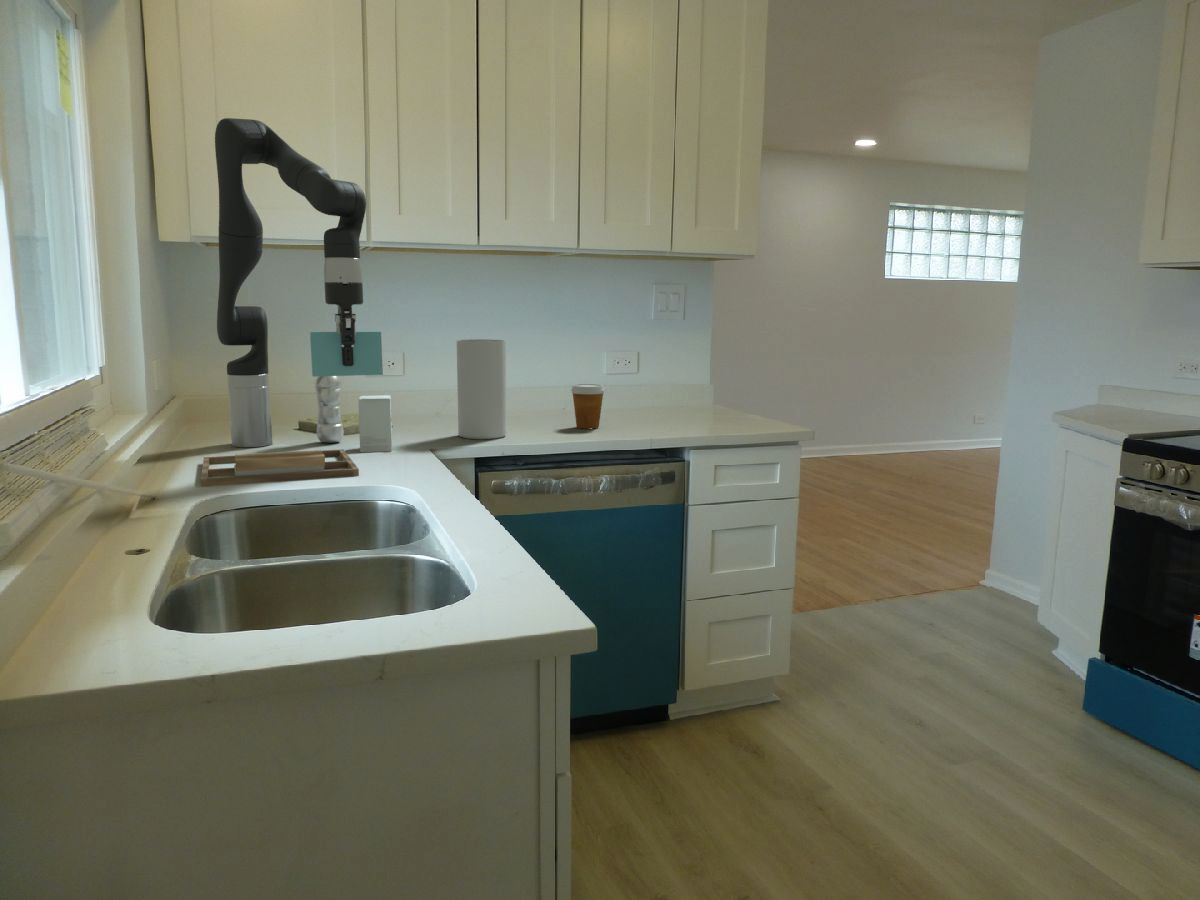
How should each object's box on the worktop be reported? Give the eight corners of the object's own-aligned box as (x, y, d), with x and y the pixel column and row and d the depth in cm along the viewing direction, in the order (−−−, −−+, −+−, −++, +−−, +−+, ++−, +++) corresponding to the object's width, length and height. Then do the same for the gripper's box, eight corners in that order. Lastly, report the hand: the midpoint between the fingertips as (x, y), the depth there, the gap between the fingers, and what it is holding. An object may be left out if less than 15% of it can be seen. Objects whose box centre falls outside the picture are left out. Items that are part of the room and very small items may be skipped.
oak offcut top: (235, 464, 166) (234, 454, 166) (321, 459, 173) (321, 450, 172) (235, 471, 160) (235, 460, 160) (325, 466, 166) (324, 455, 166)
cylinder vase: (516, 436, 225) (515, 340, 220) (477, 441, 216) (475, 342, 212) (487, 431, 233) (485, 338, 229) (448, 435, 225) (446, 340, 221)
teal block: (312, 375, 178) (310, 331, 176) (381, 373, 183) (379, 331, 181) (313, 376, 175) (310, 332, 174) (382, 374, 180) (381, 331, 179)
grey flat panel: (234, 475, 166) (234, 465, 166) (320, 469, 173) (320, 460, 172) (235, 482, 160) (234, 471, 160) (324, 476, 166) (324, 466, 166)
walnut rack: (204, 469, 178) (203, 457, 178) (343, 460, 189) (343, 449, 189) (201, 492, 156) (200, 479, 156) (359, 481, 167) (358, 468, 167)
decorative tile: (339, 438, 223) (339, 424, 222) (297, 430, 235) (296, 417, 235) (397, 430, 237) (397, 417, 236) (355, 423, 249) (354, 411, 249)
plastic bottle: (343, 439, 217) (339, 360, 213) (345, 444, 211) (341, 362, 207) (316, 441, 215) (312, 361, 211) (317, 445, 208) (313, 363, 205)
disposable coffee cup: (565, 428, 239) (566, 386, 237) (577, 424, 248) (577, 383, 246) (598, 430, 236) (598, 387, 234) (608, 426, 245) (609, 384, 243)
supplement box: (392, 451, 201) (390, 398, 198) (359, 452, 199) (357, 398, 197) (393, 446, 208) (391, 394, 206) (361, 447, 206) (359, 395, 204)
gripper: (322, 281, 181) (326, 364, 184) (326, 279, 168) (331, 368, 171) (358, 282, 184) (362, 363, 186) (366, 280, 171) (369, 367, 174)
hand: (347, 365), depth 179 cm, fingers closed on teal block, 2 cm apart
